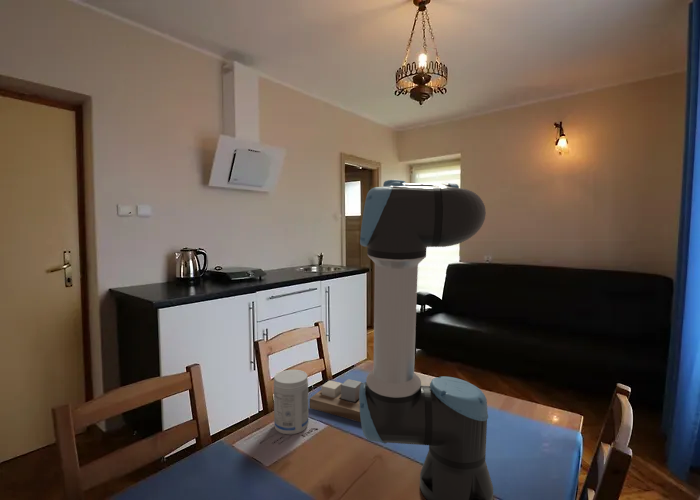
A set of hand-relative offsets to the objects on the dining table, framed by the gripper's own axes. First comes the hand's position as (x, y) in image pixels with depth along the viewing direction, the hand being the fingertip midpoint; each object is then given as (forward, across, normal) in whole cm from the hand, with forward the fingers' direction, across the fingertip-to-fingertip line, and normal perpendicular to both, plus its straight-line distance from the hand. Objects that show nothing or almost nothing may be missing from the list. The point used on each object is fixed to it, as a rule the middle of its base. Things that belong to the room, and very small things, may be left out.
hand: (392, 299), depth 121 cm
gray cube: (+29, -14, +8) cm, 34 cm away
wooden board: (+32, -14, +8) cm, 36 cm away
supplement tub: (+33, -32, +18) cm, 49 cm away
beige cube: (+31, -14, +15) cm, 37 cm away
